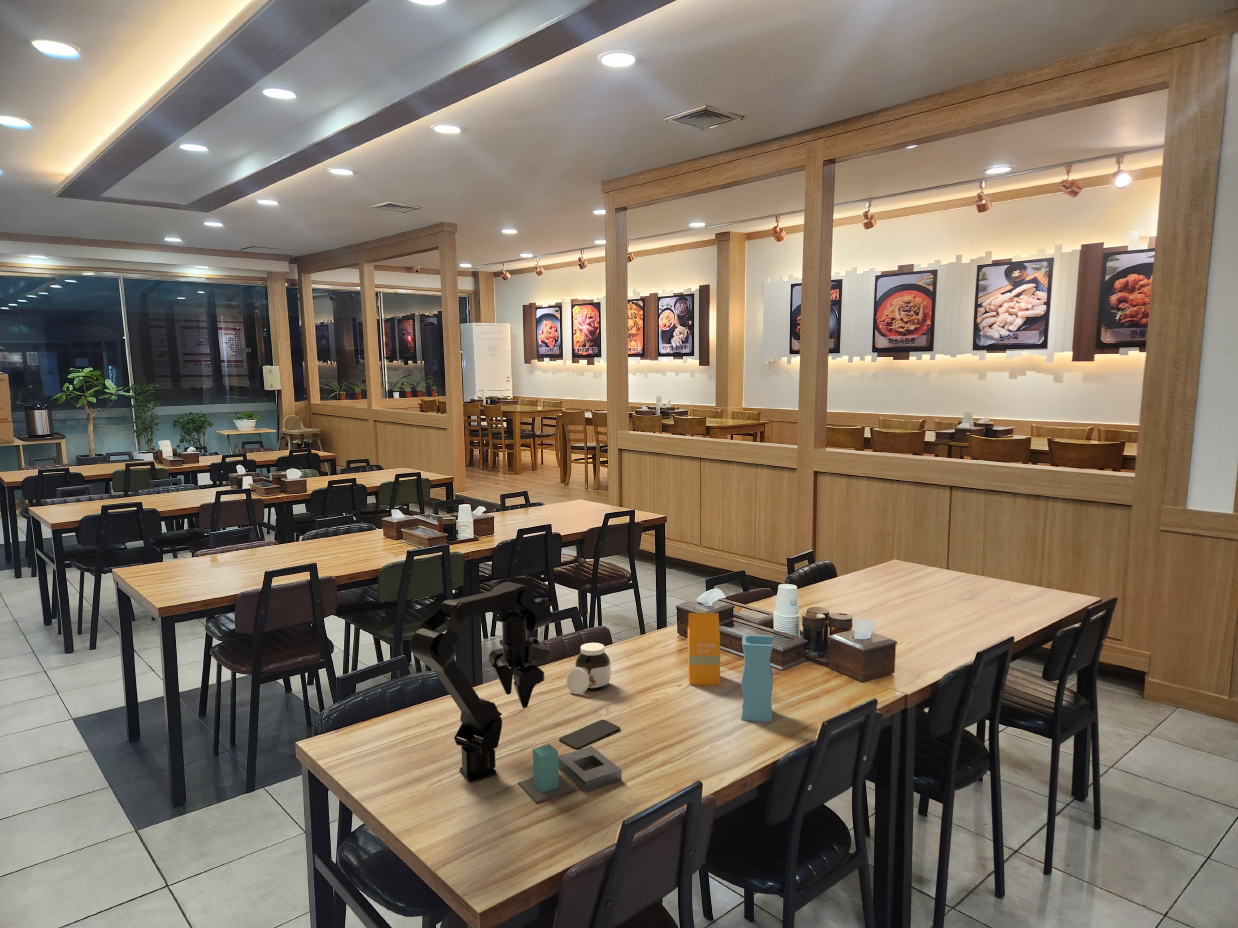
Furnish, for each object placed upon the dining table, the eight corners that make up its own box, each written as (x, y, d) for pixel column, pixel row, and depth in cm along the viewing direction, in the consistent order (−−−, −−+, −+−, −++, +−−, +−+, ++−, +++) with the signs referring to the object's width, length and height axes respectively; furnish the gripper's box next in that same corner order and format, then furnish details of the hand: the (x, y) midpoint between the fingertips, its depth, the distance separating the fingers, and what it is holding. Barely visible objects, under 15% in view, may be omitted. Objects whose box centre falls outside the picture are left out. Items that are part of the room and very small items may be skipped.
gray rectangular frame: (585, 792, 159) (585, 781, 159) (557, 766, 170) (557, 756, 170) (621, 780, 164) (621, 769, 164) (591, 755, 175) (591, 745, 175)
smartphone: (556, 738, 183) (602, 718, 193) (556, 742, 183) (602, 721, 193) (576, 748, 178) (622, 727, 188) (576, 752, 178) (622, 731, 188)
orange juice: (720, 684, 215) (720, 616, 213) (689, 684, 216) (689, 617, 214) (717, 674, 223) (717, 608, 221) (687, 674, 223) (687, 608, 221)
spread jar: (612, 681, 219) (611, 642, 218) (607, 697, 208) (607, 656, 207) (571, 680, 220) (570, 641, 219) (564, 695, 209) (563, 655, 208)
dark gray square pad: (536, 803, 155) (536, 801, 155) (518, 784, 163) (518, 782, 163) (574, 790, 160) (574, 788, 160) (555, 772, 168) (555, 770, 168)
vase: (772, 722, 191) (773, 646, 189) (741, 719, 193) (741, 644, 191) (772, 709, 199) (773, 635, 197) (742, 706, 201) (742, 634, 198)
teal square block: (541, 792, 159) (541, 756, 158) (533, 784, 162) (532, 748, 161) (558, 786, 161) (558, 751, 160) (550, 778, 164) (549, 743, 163)
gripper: (564, 641, 172) (565, 706, 174) (529, 620, 188) (530, 680, 189) (519, 650, 166) (521, 718, 168) (487, 628, 182) (489, 690, 184)
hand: (516, 700), depth 177 cm, fingers open, 9 cm apart
